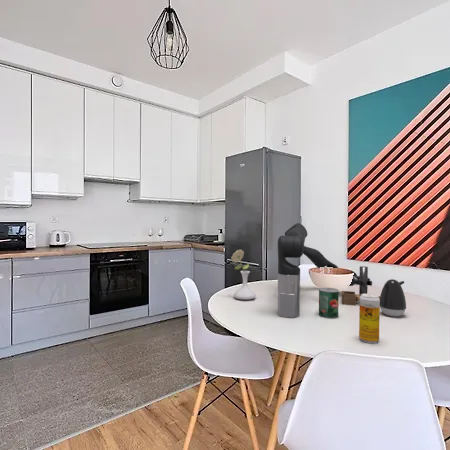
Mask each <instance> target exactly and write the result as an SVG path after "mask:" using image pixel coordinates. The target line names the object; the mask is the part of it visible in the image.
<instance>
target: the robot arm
mask: <svg viewBox="0 0 450 450" xmlns="http://www.w3.org/2000/svg"><path fill="white" fill-rule="evenodd" d="M306 237H308V230H307V229H306V227H305V226H304V225H303V224H301V223H299V222H297V223H295V224H293V225H292V226H291V227H289V228H288V229H287V230H285V232H284V235H280V236H279V237H278V239H277V260H278V261H277V313H276V314H277V315H279V317H283V318H294V319H296V318H298V317H300V313H301V305H300V304H301V301H300V300H301V268H300V267H299V266H298V265H295V264H293V263H291V262H290V261H288V260H287V258H289V259H290V258H291V259H292V258H293V259H298V258H301V257H302V256H303V255H304V256H305V257H307V258H308V259H309V261H311V263H313V264H314V265H315V267H316V268H317V269H319V268H320V267H324V268H325V267H333V268H339V266H338V265H336V264H335V263H333V262H331V261H330V260H328V259H327V258H326V257H325V256H324V255H323V254H322V253H321V251H319V250H318V249H316V248H313V247H309V246H306V245H305V240H306ZM351 271H352V272H353V273H354V275H353V279H352V282H351V284H350V285H349V286H348V287H352V286H359V285H360V286H364V281H361V280H359V275H357V273H356V272H355V271H353V270H351ZM368 286H371V287H372V286H373V281H372V280H371V278H369V277H368Z"/></svg>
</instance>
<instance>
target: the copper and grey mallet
mask: <svg viewBox="0 0 450 450" xmlns="http://www.w3.org/2000/svg"><path fill="white" fill-rule="evenodd" d="M368 271H369V267H368V266H366V265H365V266H362V265H360V266H359V275H358V276H359V280H361V281H364V286H360V285H358V286H359V288H358V291H359V292H358V294H357V293H355V294H356V302H358V304H360V296H361V294H368V292H369V291H368V290H369V289H368V286H369V285H368V278H369V276H368V275H369V273H368ZM378 296H379V295H378ZM379 299H380V296H379Z"/></svg>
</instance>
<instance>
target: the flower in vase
mask: <svg viewBox="0 0 450 450" xmlns="http://www.w3.org/2000/svg"><path fill="white" fill-rule="evenodd" d="M244 255H245V252H244V250H243V249H237V250H236V251H234V253H232V256H231V258H230V259H231V262H232V263H236V264H237V263H239V262H240V263H239V264H240V265H236V266H235V267H234V270H240V269H241V268H242V270H240V274H241V277H242V285H241V287H240V288H238V289H237V290H236V291H235V292H234V293H233V297H234V298H236V299H238V300H253V299H255V298H256V297H257V294H256V293H255V291H253V289H251V288H250V287H249V285H248V278H249V274H250V273H251V271H249V270H247V269H248V268H249V267H250V264H249V263H247V264H245V265H244V266H243V265H242V259H243V258H244Z"/></svg>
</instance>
